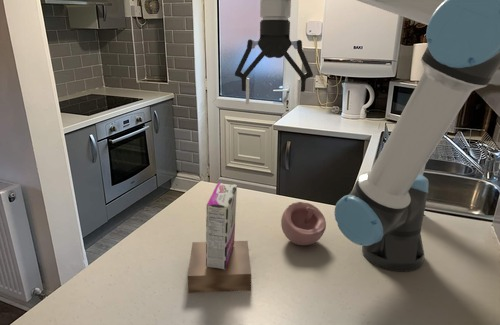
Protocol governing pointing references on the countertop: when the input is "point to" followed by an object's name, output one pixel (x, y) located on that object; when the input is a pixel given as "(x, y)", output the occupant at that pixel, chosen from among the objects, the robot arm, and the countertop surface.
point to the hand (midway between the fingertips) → (272, 103)
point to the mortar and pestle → (303, 223)
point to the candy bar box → (220, 225)
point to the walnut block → (219, 270)
